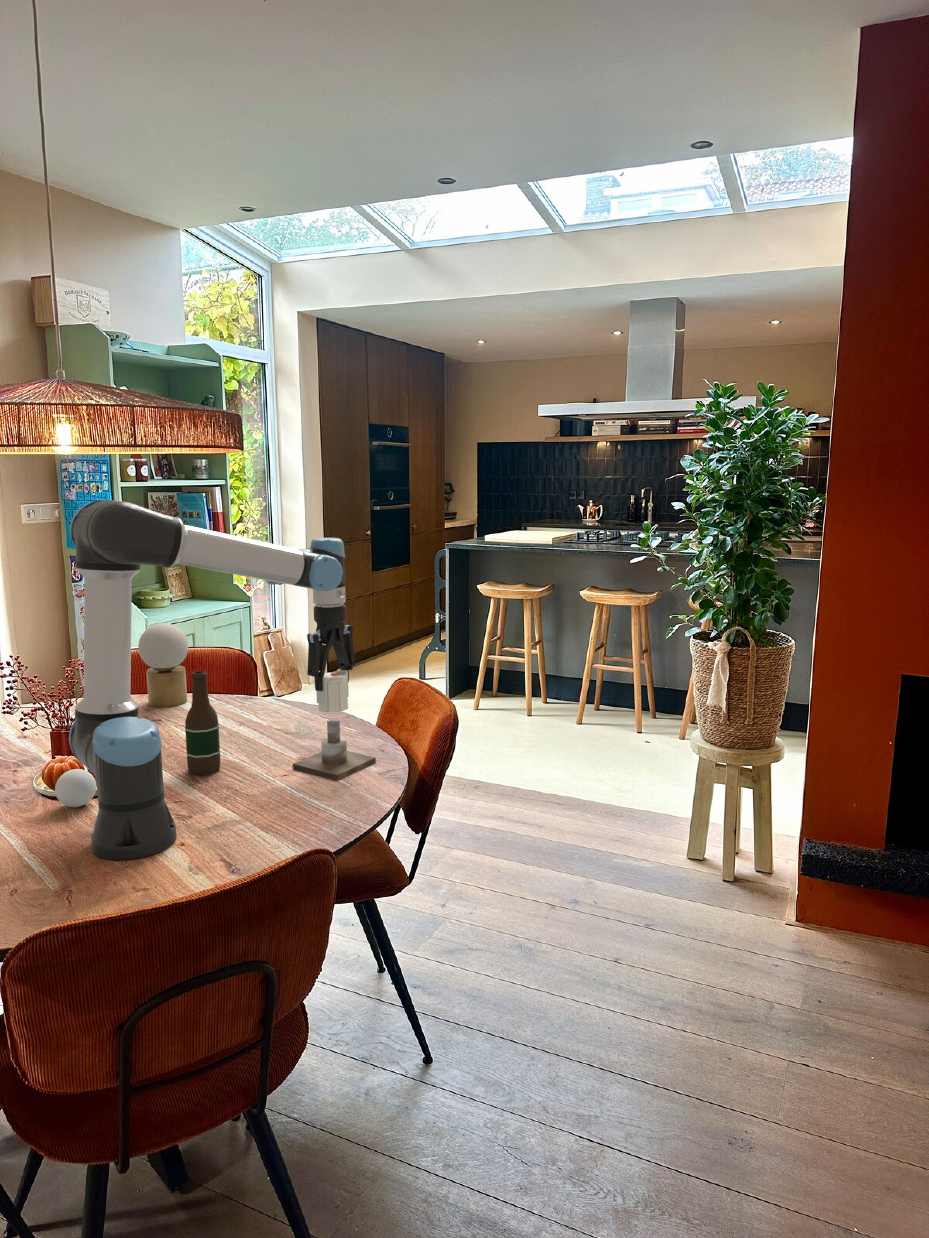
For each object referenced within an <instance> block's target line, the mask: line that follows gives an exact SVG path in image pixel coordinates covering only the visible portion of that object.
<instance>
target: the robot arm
mask: <svg viewBox="0 0 929 1238" xmlns="http://www.w3.org/2000/svg"><path fill="white" fill-rule="evenodd" d="M69 536H70V540H71V541H72V544H73V546H74V548H75V570H76V571H77V572H78V573H79V574H80V575H81V576H82V577H83V579H84V580H83V582H84V583H83V585H84V586H83V590H84V591H83V593H84V595H83V599H84V601H83V602H84V603H83V605H84V606H83V616H84V617H83V629H84V630H83V698H82V699H81V700H80V701H79V702H78V703H77V704H75V706H74V709H75V711H74V713H75V714H74V721H73V723H72V725H71V726H70V729H69V735H68V742H69V746H70V749H71V752H72V754H73V756H74V757H75V758H76V760H78V762H79V763H80V764H81V765H83V766H84V767H85V768H86V769H88V771H90V772H91V773H92V775H93V776H95V781H96V792H97V801H98V813H97V816H96V819H95V823H94V826H93V827H94V828H93V833H92V834H91V839H90V840H91V841H90V842H91V851H92V853H93V854H94V855H95V856H96V857H98V858H101V859H104V860H112V861H127V860H128V861H129V860H135V859H141V858H145V857H149V856H152V855H153V856H154V855H155V854H157V853H161V852H162V851H164V850H166V849H168V848H169V847H171V846H172V845H173V844H174V843H175V842H176V840H177V837H178V835H177V826H176V822H175V821H174V818H173V816H172V814H171V812H170V809H169V807H168V805H167V803H166V800H165V791H164V790H165V789H164V776H163V775H164V774H163V759H162V745H163V744H162V743H163V742H162V738H161V734H160V730H159V728H158V726H157V724H156V723H154V722H153V721H152V720H150V719H146V718H144V717H142V718H139V704H138V702H136V701H135V700H134V699H133V698H132V696H131V684H132V683H131V682H132V681H131V669H132V666H131V664H132V603H133V602H132V599H133V598H132V597H133V595H132V594H133V593H132V592H133V591H132V588H133V587H132V583H133V579H134V577H135V576H137V574H138V573H140V572H141V565H142V566H143V565H144V566H154V567H155V566H156V567H162V568H168V569H169V568H172V567H174V566H175V565H181V566H186V567H193V568H198V569H203V570H209V571H213V572H220V573H223V574H224V573H225V574H231V575H236V576H242V577H247V578H252V579H258V580H263V581H265V582H266V583H267V584H268V585H271V586H272V585H274V586H275V585H279V586H281V585H291V586H295V587H301V588H304V589H305V588H306V589H311V590H312V602H313V604H314V606H313V621H315V623H316V629H315V632H313V633H307V634H306V638H307V642H308V649H307V651H308V652H307V653H308V654H307V675H308V676H310V677H313V678H314V689H315V690H314V691H316V704H317V705H318V704H324V705H327V704H328V699H327V677H324V674H325V673H326V668H327V662H328V657H329V654H330V650H331V649H332V648H333V650H334V652H335V656H336V661H337V664H338V666H339V668H338V669H337V670H336V671H341V673H344V674H346V677H347V694H348V698H349V697H350V696H349V695H350V694H349V693H350V692H349V683H350V671H351V670H353V668H354V667H353V666H355V664H356V658H355V650H354V648H355V647H354V639H353V633H354V626H353V625H349V624H345V621H346V620H347V606H346V605H345V603H346V602H347V601H346V600H347V598H346V563H345V561H346V560H345V559H346V554H345V547H344V546H345V545H344V544H345V543H344V542H343V540H342V539H341V538H338V537H318V538H312V540H311V541H310V546H309V547H308V548H292V547H289V546H283V545H279V544H274V543H269V542H266V541H261V540H256V539H252V538H246V537H242V536H238V535H233V534H229V533H224V532H220V531H216V530H215V531H214V530H210V529H206V528H201V527H196V526H193V525H187V524H184V523H183V521H182V519H180V517H177V516H176V517H175V516H172V515H167V514H164V513H161V512H158V511H154V510H152V509H149V508H147V507H144V506H140V505H139V504H138V505H137V504H135V503H133V502H129V501H123V500H122V501H121V500H120V501H118V500H114V499H113V500H112V499H108V498H107V499H105V498H104V499H96V500H93V501H90V502H88V503H86V504H84V505H82V506H81V507H79V509H77V510H76V512H75V513H74V515H73V516H72V518H71V521H70V523H69ZM332 646H333V647H332Z"/></svg>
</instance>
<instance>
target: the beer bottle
mask: <svg viewBox="0 0 929 1238" xmlns="http://www.w3.org/2000/svg"><path fill="white" fill-rule="evenodd" d="M207 677H208V673H207V671H204V670H195V671H193V672H191V675H190V678H191V680H192V682H191V683H192V684H191V686H192V687H191V688H192V689H191V692H192V693H191V694H192V695H191V697H192V698H191V707H190V709H188V712H187V715H186V718H185V724H184V726H185V727H184V730H185V731H184V732H185V743H186V744H185V745H186V746H185V747H186V763H187V764H186V765H187V769H188V770H187V773H188V774H190V775H192V776H193V775H194V776H210V775H213V774H216V773H218V772H220V768H221V747H220V727H219V717H218V716H219V715H218V714H217V712H216V710H215V708H214V707H213V706H212V705H211V703H210V699H209V691H208V683H207Z"/></svg>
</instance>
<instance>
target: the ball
mask: <svg viewBox="0 0 929 1238" xmlns="http://www.w3.org/2000/svg"><path fill="white" fill-rule="evenodd" d="M96 792H97V781H96V778H94V775H93V774H91V773H90V772H89V771H87V770H84V769H80V768H75V769H70V770H68V771H65V772H63V774H61V775H60V776H59V778H58V779H57V781H56V783H55V787H54V793H55V797H56V798H57V800H58V801H59V803H61V805H63V806H66V807H68V808H81V807H82V806H85V805H87V804H88V803H89V802H91V801H92V799H93V798H94V796H95V794H96Z"/></svg>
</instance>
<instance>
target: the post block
mask: <svg viewBox="0 0 929 1238" xmlns="http://www.w3.org/2000/svg"><path fill="white" fill-rule="evenodd" d="M326 726H327V728H326V730H327V731H326V732H327V738H324V739H323V740H321V751H320V752H317V753H315V754H313V755H311V756H308V757H306V758H303V759H301V760H298V761H296V762H293V763H292V769H293V770H298V771H302V772H305V773H309V774H313V775H317V776H321V777H325V778H329V779H333V780H336V781H338V780H341V779H343V778H345V777H347V776H349V775H351V774H353V773H355V772H358V771H359V770H362V769H365V768H366V767H368V766H371V765H373V764H375V763H376V762H377V761H376V760H377V757H375V756H371V755H366V754H363V753H362V754H361V753H359V752H358V753H357V752H353V751H349V750H348V746H347V745H348V742H347V739H345V738H343V737H341V722H340V719H330V720H327V721H326ZM342 777H343V778H342Z"/></svg>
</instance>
